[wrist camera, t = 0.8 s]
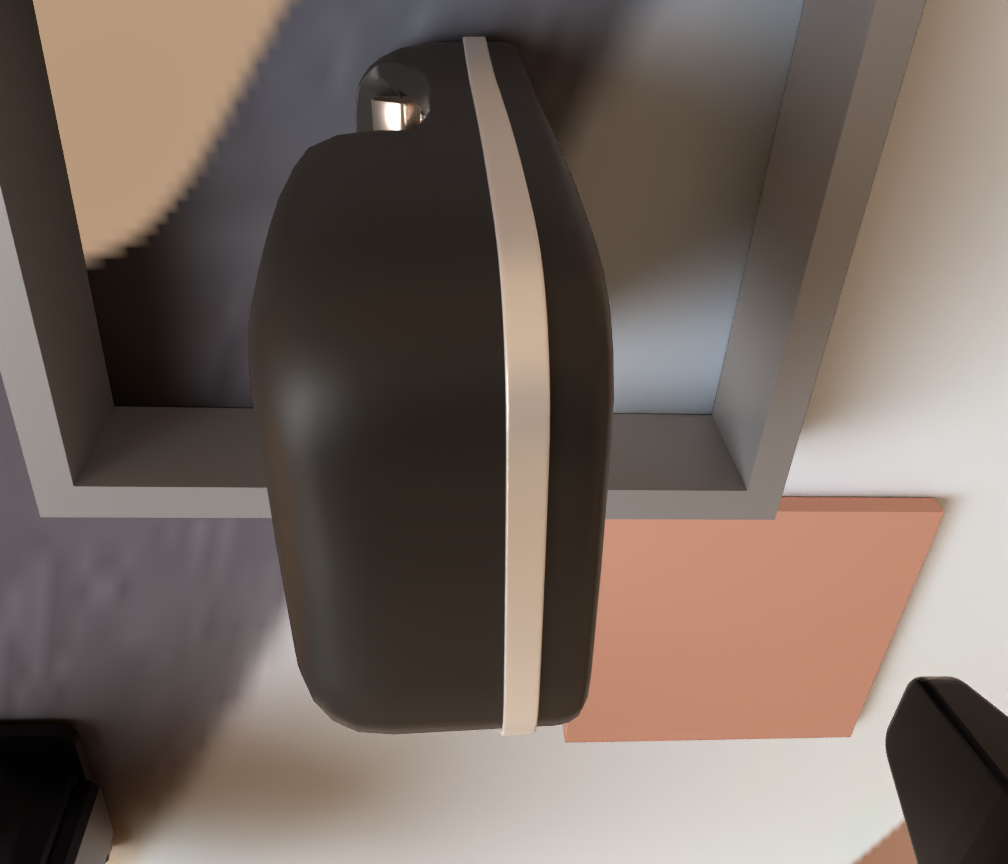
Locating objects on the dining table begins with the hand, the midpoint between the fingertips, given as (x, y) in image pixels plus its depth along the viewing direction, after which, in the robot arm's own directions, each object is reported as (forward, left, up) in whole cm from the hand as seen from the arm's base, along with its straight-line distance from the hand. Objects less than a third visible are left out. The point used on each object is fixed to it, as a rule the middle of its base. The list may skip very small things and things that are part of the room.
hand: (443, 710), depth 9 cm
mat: (+9, -12, -13) cm, 20 cm away
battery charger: (0, 0, -13) cm, 13 cm away
